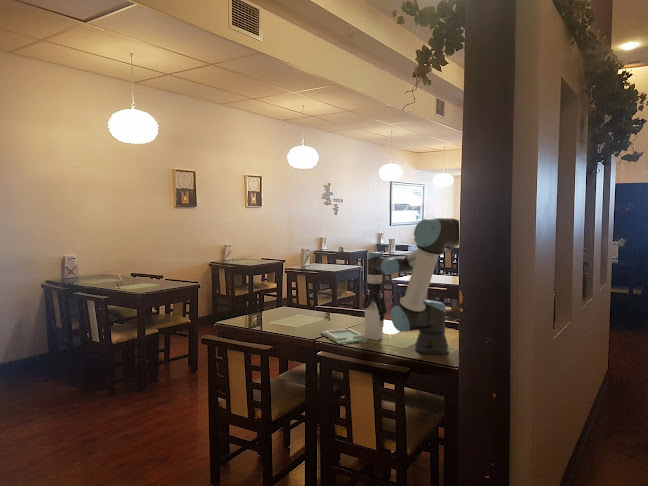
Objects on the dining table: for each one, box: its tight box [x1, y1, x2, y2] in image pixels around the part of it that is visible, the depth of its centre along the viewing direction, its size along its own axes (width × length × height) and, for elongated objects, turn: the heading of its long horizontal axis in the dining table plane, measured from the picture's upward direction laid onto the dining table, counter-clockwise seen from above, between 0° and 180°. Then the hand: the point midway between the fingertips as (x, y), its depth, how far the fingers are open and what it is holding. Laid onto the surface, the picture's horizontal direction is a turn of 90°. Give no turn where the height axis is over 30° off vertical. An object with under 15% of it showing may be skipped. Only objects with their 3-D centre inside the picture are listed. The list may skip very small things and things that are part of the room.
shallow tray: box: [320, 328, 369, 345], centre depth 237 cm, size 22×16×2 cm
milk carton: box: [364, 301, 384, 341], centre depth 236 cm, size 7×7×19 cm
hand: (373, 324), depth 236 cm, fingers open, 13 cm apart
